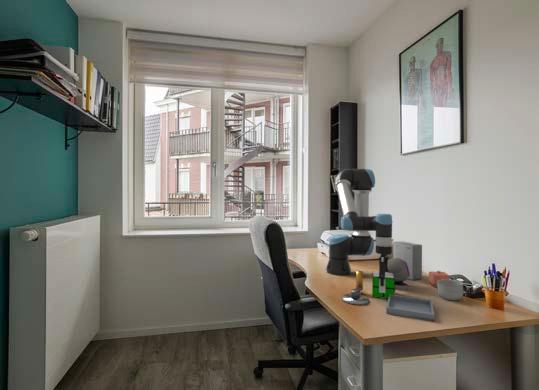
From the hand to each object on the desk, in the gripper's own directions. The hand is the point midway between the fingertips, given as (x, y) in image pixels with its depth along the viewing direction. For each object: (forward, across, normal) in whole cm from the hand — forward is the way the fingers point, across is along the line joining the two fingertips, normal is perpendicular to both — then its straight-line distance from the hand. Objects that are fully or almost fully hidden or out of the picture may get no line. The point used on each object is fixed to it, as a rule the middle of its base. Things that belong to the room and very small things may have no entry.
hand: (383, 288), depth 148 cm
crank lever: (+2, -8, +11) cm, 14 cm away
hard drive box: (+3, +41, -10) cm, 43 cm away
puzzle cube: (+3, 0, 0) cm, 3 cm away
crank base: (+3, -14, +11) cm, 18 cm away
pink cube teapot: (+3, +27, -26) cm, 38 cm away
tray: (+3, -15, -12) cm, 19 cm away
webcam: (+3, +18, -5) cm, 19 cm away
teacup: (+3, +10, -30) cm, 32 cm away
